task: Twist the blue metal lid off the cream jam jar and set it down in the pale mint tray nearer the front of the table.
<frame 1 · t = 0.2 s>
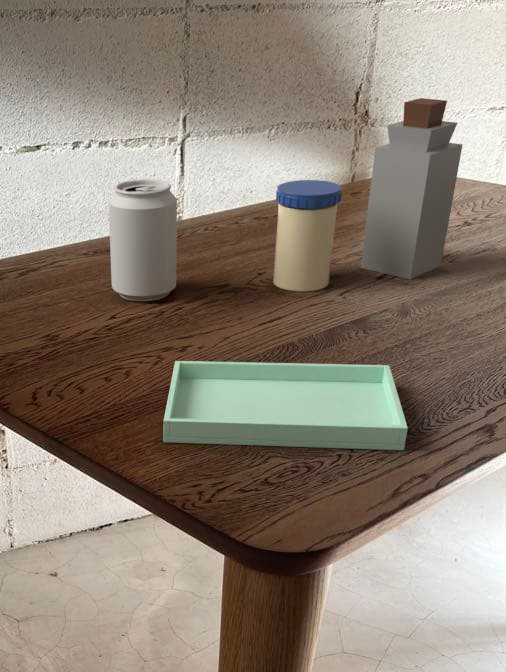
jam jar: (300, 282, 102), on the table
jar lid: (309, 190, 96), point 10 cm above the table, screwed on, not yet turned
perfume bottle: (400, 268, 105), on the table
can: (144, 294, 101), on the table
tray: (280, 412, 75), on the table
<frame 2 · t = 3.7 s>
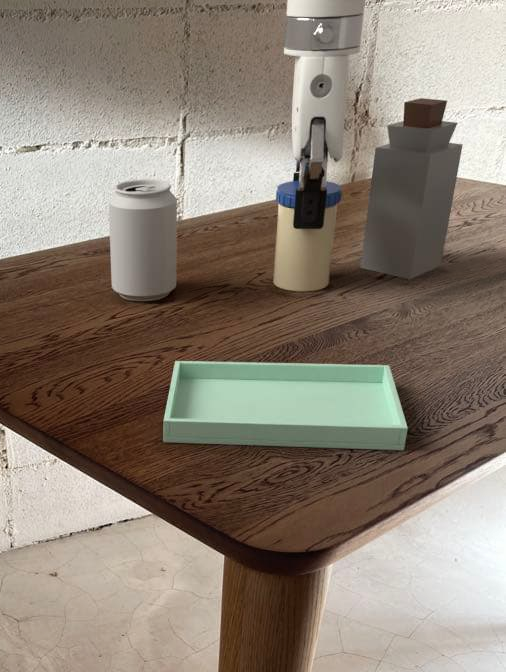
hand: (306, 217, 98), 7 cm above the table, tool pointing down, fingers closed on jar lid, 6 cm apart
jar lid: (309, 190, 96), point 10 cm above the table, screwed on, not yet turned, touching gripper
everything else where it was.
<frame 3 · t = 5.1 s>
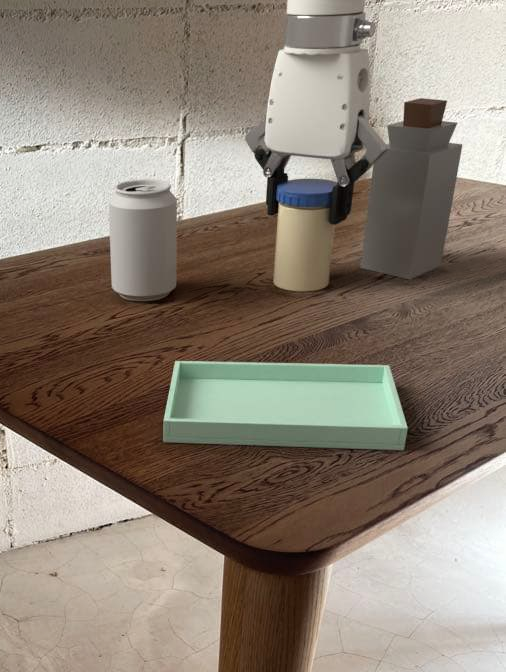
hand: (306, 215, 98), 8 cm above the table, tool pointing down, fingers closed on jar lid, 6 cm apart
jar lid: (309, 188, 96), point 10 cm above the table, turned 61° so far, risen 0.2 cm, still on its thread, touching gripper
everything else where it was.
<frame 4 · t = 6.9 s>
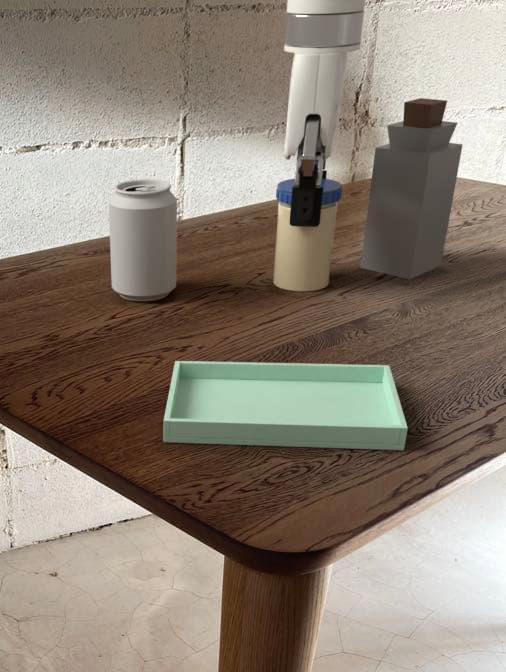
hand: (306, 214, 97), 8 cm above the table, tool pointing down, fingers closed on jar lid, 6 cm apart
jar lid: (309, 187, 96), point 11 cm above the table, off its thread, touching gripper
everything else where it was.
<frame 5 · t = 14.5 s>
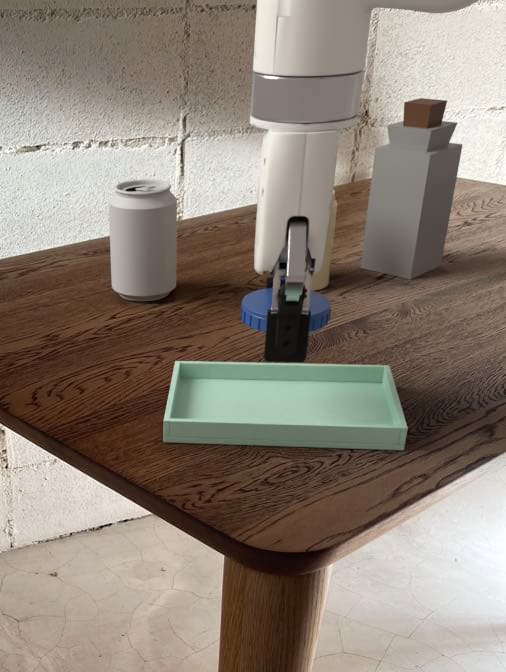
hand: (283, 340, 71), 7 cm above the table, tool pointing down, fingers closed on jar lid, 6 cm apart
jar lid: (285, 305, 69), point 10 cm above the table, off its thread, touching gripper
everything else where it was.
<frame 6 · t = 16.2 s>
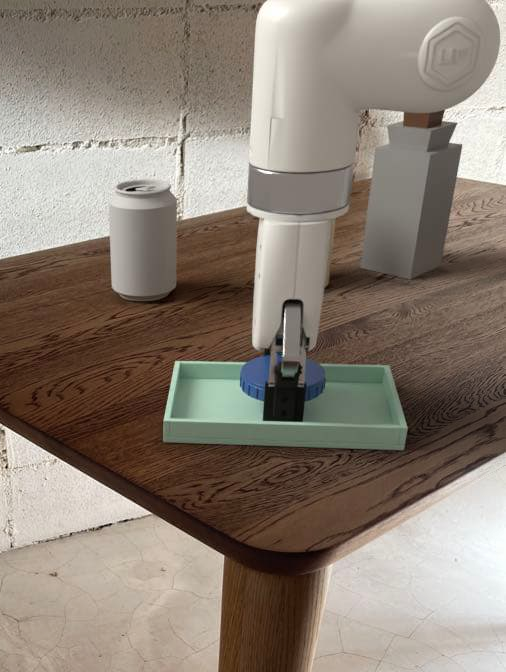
hand: (281, 405, 74), 1 cm above the table, tool pointing down, fingers closed on jar lid, 6 cm apart
jar lid: (282, 374, 73), point 4 cm above the table, off its thread, touching gripper
everything else where it was.
when the fingers open (2 cm above the table, at t = 25.7 s): jar lid drops 3 cm, resting on tray.
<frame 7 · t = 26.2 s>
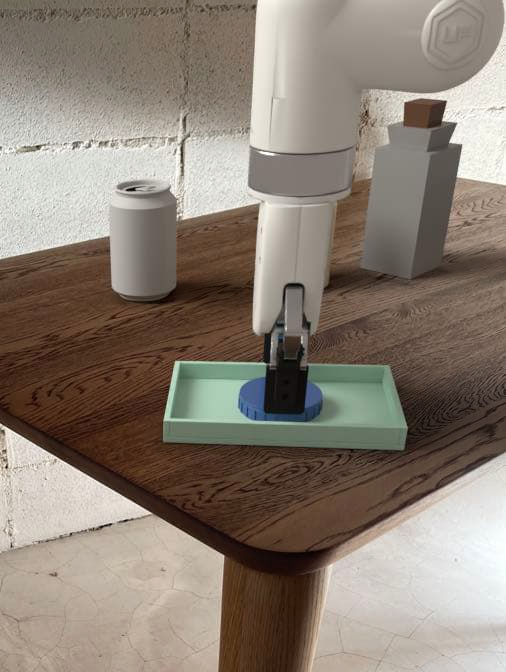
hand: (282, 386, 73), 2 cm above the table, tool pointing down, fingers open, 9 cm apart
jar lid: (280, 395, 74), point 2 cm above the table, off its thread, touching tray
everything else where it was.
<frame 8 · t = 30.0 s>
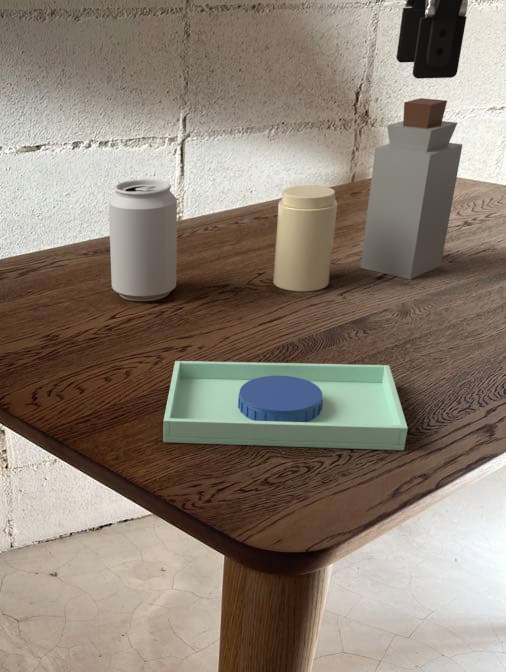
hand: (424, 69, 71), 24 cm above the table, tool pointing down, fingers open, 9 cm apart
nothing on the table moved.
at the end: jar lid inside the target area on the tray (0.1 cm from its centre), point 1.6 cm above the tray's base; jar lid point 1.6 cm above the table; the gripper is holding nothing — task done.
